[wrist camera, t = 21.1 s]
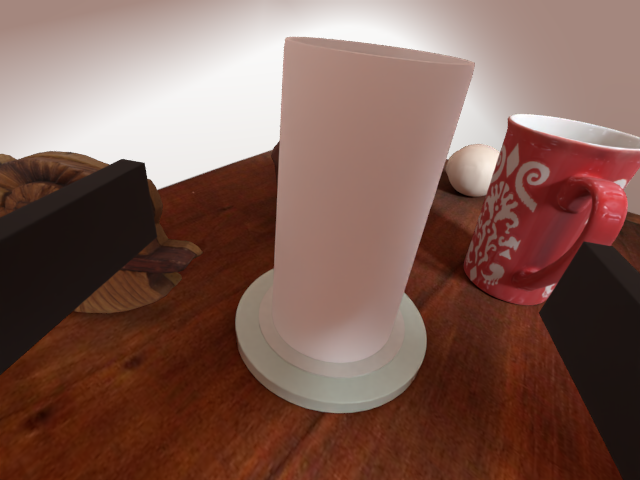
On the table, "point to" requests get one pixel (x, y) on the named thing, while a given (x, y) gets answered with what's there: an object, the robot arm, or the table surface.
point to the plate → (326, 377)
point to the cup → (356, 186)
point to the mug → (548, 204)
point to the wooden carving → (139, 273)
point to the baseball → (472, 169)
